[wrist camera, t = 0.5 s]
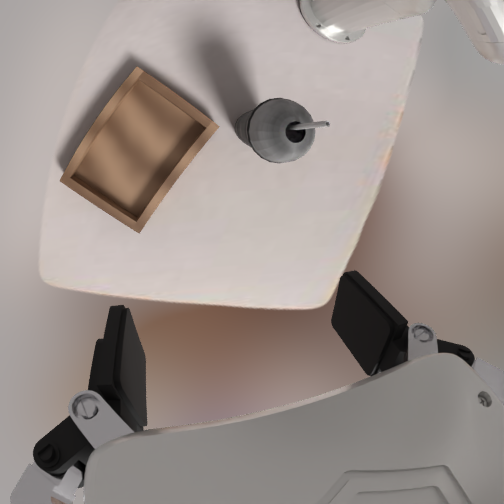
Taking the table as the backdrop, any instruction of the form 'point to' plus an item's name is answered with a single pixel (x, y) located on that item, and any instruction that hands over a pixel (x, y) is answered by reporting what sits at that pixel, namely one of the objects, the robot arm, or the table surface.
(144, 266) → the table surface
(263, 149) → the beverage cup
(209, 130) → the walnut tray
